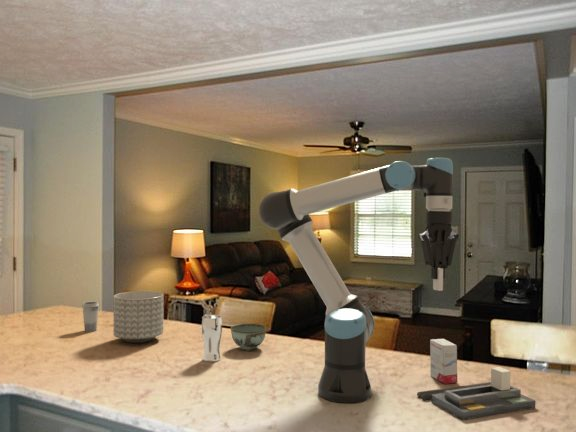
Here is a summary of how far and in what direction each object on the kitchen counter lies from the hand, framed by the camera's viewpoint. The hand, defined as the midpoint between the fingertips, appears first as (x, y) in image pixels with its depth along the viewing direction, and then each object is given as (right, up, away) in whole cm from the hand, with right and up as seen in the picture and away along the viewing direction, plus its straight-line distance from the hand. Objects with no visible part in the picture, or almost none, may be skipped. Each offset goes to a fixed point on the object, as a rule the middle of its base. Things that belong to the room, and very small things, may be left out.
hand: (437, 289), depth 153 cm
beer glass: (-71, -28, +27) cm, 81 cm away
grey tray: (+9, -30, -12) cm, 33 cm away
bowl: (-59, -28, +41) cm, 78 cm away
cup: (-129, -27, +67) cm, 147 cm away
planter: (-104, -28, +51) cm, 119 cm away
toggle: (+14, -27, -10) cm, 33 cm away
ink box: (+4, -30, +9) cm, 31 cm away
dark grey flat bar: (+5, -30, -3) cm, 30 cm away
